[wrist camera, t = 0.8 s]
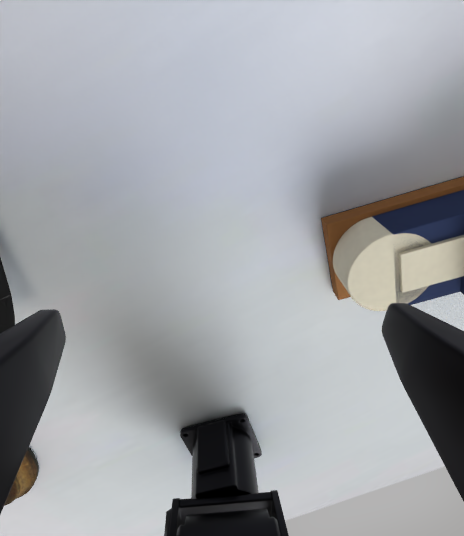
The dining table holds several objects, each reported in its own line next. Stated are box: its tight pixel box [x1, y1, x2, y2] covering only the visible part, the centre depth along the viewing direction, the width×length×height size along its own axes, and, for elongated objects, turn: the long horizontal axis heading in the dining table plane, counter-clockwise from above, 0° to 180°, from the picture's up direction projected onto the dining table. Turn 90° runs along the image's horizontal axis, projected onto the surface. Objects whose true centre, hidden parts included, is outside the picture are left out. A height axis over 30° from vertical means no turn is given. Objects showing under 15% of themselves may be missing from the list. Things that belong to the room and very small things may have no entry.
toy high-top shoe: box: [321, 176, 464, 311], centre depth 21 cm, size 15×6×7 cm, turn 106°
